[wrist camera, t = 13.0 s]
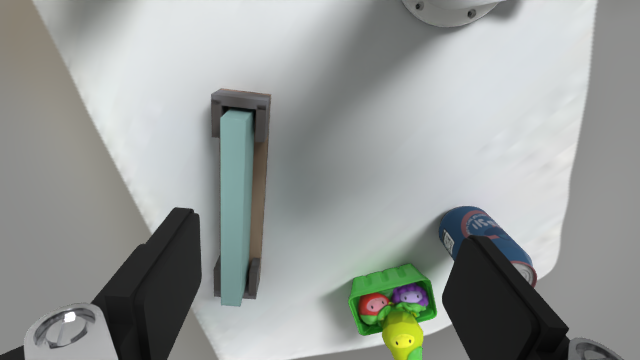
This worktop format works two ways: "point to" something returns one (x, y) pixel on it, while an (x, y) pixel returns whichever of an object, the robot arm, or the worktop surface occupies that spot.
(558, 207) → the worktop surface
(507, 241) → the soda can
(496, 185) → the worktop surface
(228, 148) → the slat
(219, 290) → the endcap rail
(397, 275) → the fruit basket
